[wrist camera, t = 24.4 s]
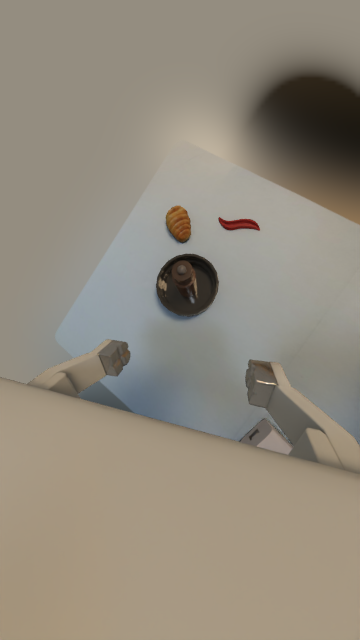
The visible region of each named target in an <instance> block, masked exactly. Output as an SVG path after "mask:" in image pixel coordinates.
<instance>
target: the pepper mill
mask: <svg viewBox="0 0 360 640" xmlns="http://www.w3.org/2000/svg"><path fill="white" fill-rule="evenodd" d="M172 279H173V282H174V284H175V285H176V287H177V289H178V290H179V292H180V294H181V295H182V296H184V297H187V298H188V297H192V296H193V295H195V293H196V291H197V283H196V274H195V271H194V269H193V268H192V266H191V264H190V263H189V262H187V261H178V262H177V263H175V264H174V266H173V268H172Z"/></svg>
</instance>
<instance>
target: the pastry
mask: <svg viewBox="0 0 360 640" xmlns="http://www.w3.org/2000/svg"><path fill="white" fill-rule="evenodd" d="M166 224H167V226H168V228H169V230H170V232H171V233H172V234H173V235H174V237H175V238H176V239H177V240H178V241H180V242H184V241H186V240H187V239H188V238H189V236H190V235H191V225H190V218H189V217H188V214H187V211H186V210H185V209H184V208H183V207H181V206H175V207H172V208H171V209H170V210H169V211H168V213H167V215H166Z"/></svg>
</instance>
